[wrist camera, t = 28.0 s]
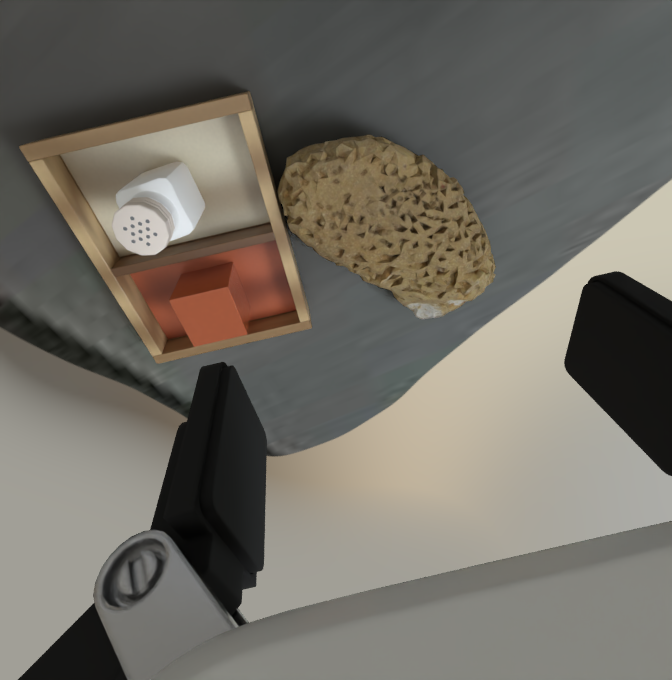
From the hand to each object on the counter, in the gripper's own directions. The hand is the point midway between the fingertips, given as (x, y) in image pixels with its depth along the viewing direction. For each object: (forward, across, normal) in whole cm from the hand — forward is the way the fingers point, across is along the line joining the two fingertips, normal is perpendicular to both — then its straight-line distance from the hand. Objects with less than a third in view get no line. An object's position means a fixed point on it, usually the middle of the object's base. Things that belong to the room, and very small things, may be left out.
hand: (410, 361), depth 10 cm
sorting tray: (+26, +12, +4) cm, 29 cm away
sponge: (+26, -5, +6) cm, 28 cm away
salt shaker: (+26, +12, -1) cm, 28 cm away
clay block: (+26, +12, +9) cm, 30 cm away
